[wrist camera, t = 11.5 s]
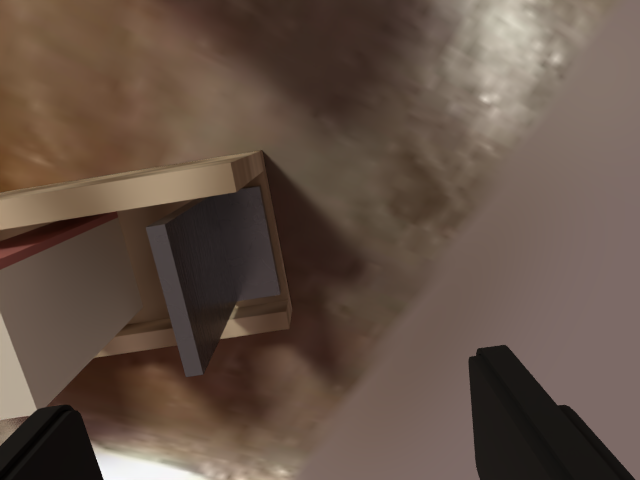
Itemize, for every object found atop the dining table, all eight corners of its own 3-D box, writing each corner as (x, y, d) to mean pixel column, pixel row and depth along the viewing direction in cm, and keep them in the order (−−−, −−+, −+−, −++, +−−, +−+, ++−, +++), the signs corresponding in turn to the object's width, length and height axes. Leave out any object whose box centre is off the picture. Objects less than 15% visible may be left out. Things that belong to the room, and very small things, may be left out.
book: (116, 210, 27) (-17, 265, 16) (143, 307, 28) (39, 414, 18) (60, 219, 27) (-110, 280, 16) (90, 314, 28) (-46, 426, 18)
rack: (262, 150, 27) (219, 167, 15) (292, 309, 30) (275, 428, 18) (-130, 213, 28) (-458, 276, 16) (-65, 362, 31) (-305, 509, 19)
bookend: (260, 185, 26) (231, 213, 17) (280, 291, 28) (264, 365, 19) (202, 194, 26) (145, 227, 17) (226, 299, 28) (186, 377, 19)
